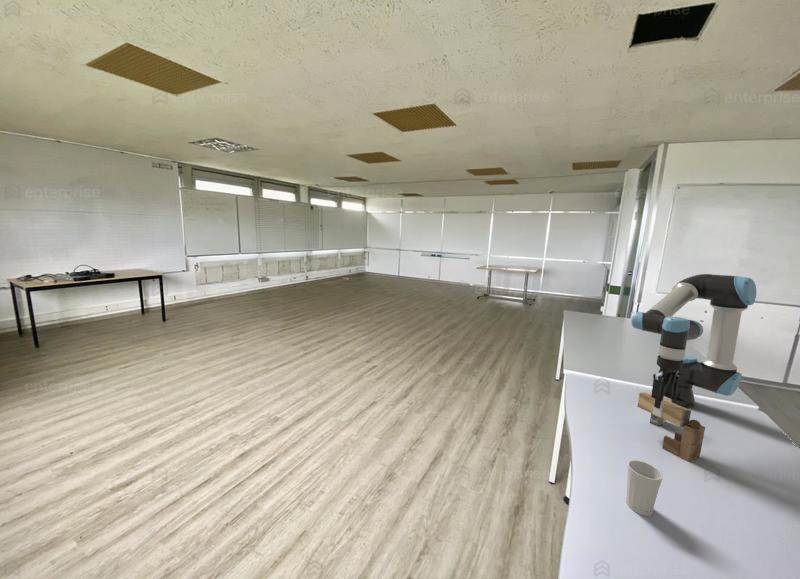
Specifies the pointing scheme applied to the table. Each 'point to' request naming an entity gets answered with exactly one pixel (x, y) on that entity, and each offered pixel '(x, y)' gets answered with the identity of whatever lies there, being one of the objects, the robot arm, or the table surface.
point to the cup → (642, 486)
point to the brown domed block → (686, 441)
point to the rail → (665, 410)
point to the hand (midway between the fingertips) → (660, 414)
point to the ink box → (656, 420)
